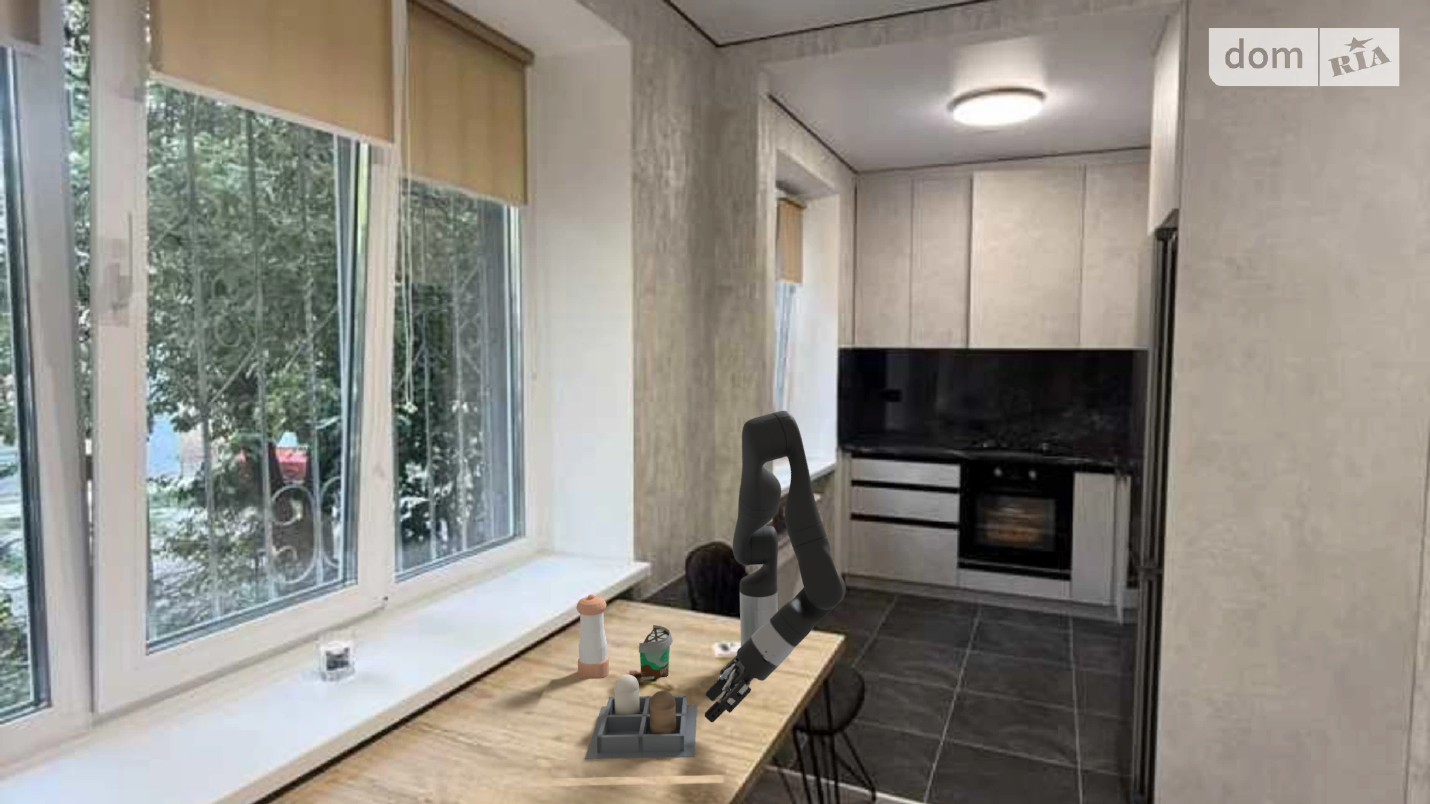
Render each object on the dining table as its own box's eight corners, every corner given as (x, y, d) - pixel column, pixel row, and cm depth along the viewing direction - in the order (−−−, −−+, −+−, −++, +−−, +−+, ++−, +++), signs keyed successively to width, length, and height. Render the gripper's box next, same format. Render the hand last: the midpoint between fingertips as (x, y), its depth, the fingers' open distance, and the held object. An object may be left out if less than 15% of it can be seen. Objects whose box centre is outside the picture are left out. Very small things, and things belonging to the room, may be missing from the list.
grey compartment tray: (601, 710, 160) (601, 692, 159) (697, 709, 160) (696, 690, 159) (585, 763, 139) (584, 743, 139) (694, 761, 139) (694, 741, 139)
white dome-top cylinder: (617, 714, 156) (615, 670, 155) (641, 714, 156) (639, 670, 155) (613, 726, 151) (612, 681, 150) (638, 726, 151) (637, 680, 150)
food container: (665, 688, 170) (664, 645, 169) (639, 686, 171) (638, 643, 170) (679, 665, 182) (678, 625, 181) (654, 663, 183) (653, 624, 182)
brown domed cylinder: (651, 732, 148) (650, 686, 148) (677, 732, 148) (675, 685, 148) (649, 746, 143) (648, 698, 143) (675, 745, 143) (674, 697, 143)
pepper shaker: (572, 677, 177) (569, 597, 175) (588, 665, 183) (586, 588, 182) (598, 681, 174) (596, 601, 172) (614, 669, 181) (612, 591, 179)
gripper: (750, 622, 151) (695, 678, 152) (754, 651, 137) (692, 712, 138) (777, 647, 152) (722, 703, 152) (783, 678, 137) (722, 740, 138)
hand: (708, 707), depth 145 cm, fingers open, 8 cm apart
